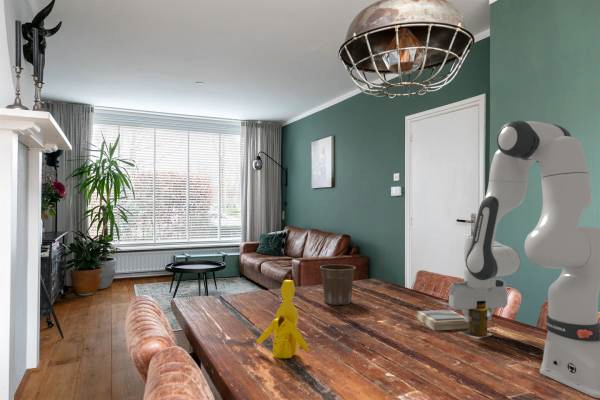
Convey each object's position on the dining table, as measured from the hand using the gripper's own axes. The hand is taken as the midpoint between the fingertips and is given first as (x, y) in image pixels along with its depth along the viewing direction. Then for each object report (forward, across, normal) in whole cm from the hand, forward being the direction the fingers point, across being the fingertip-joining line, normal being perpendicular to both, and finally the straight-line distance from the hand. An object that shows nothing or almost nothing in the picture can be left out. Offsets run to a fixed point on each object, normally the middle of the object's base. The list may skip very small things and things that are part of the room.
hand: (478, 321), depth 138 cm
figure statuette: (+5, -68, -8) cm, 69 cm away
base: (+4, -6, +13) cm, 15 cm away
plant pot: (+5, -37, +50) cm, 62 cm away
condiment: (+5, -1, 0) cm, 5 cm away
